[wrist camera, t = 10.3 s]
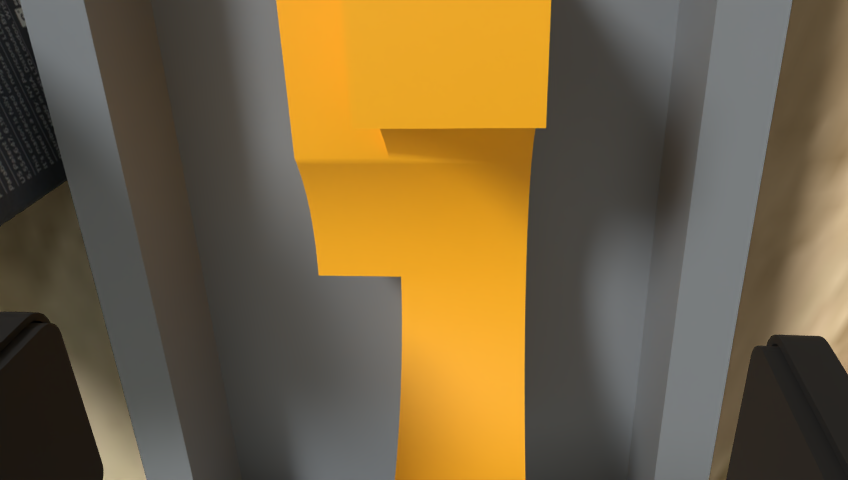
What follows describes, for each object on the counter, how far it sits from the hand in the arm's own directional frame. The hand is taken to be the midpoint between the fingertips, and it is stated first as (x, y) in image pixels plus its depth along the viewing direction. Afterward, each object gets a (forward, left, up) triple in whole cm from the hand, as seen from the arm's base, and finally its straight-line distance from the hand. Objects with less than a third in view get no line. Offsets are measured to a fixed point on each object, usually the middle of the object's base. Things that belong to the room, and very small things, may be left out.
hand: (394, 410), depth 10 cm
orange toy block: (0, +1, -8) cm, 8 cm away
